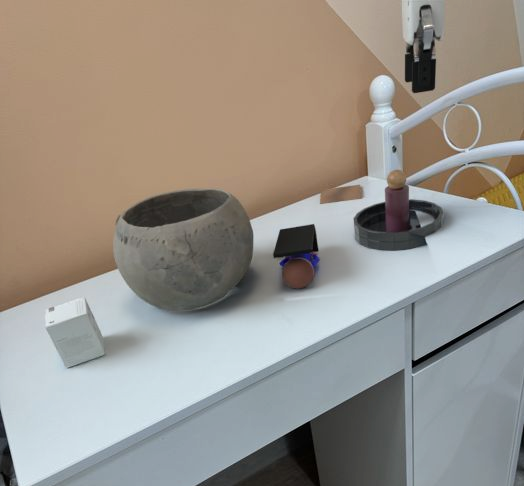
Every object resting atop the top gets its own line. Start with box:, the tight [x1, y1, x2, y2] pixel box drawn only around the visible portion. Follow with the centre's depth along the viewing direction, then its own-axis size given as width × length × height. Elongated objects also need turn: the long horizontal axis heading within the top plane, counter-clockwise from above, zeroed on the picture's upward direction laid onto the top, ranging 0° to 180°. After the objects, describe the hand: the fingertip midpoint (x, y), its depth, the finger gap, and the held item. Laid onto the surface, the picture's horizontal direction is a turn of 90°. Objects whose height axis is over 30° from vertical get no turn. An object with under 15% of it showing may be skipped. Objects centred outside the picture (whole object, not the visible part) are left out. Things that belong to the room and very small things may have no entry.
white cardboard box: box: [44, 296, 106, 369], centre depth 73 cm, size 6×6×7 cm
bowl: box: [112, 187, 255, 311], centre depth 82 cm, size 23×23×15 cm
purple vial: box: [384, 169, 410, 232], centre depth 86 cm, size 4×4×11 cm
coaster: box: [319, 184, 363, 205], centre depth 110 cm, size 9×9×1 cm
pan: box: [353, 198, 445, 251], centre depth 88 cm, size 15×15×4 cm
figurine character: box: [272, 223, 320, 290], centre depth 82 cm, size 7×8×15 cm
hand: (418, 85), depth 76 cm, fingers open, 9 cm apart
